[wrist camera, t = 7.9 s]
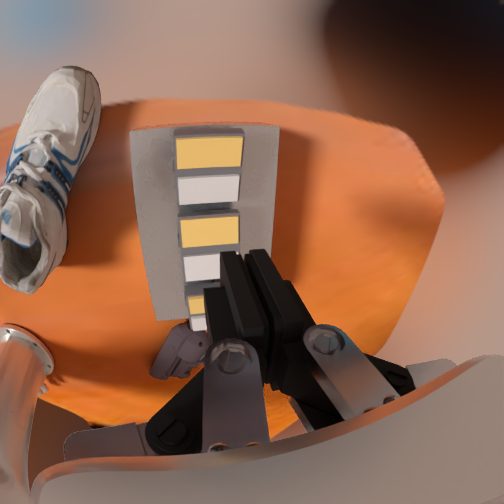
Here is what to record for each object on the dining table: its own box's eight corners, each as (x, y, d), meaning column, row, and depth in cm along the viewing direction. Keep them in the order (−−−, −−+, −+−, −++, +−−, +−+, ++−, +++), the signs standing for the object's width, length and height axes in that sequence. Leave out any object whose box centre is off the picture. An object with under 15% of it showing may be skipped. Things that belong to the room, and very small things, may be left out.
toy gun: (277, 310, 40) (181, 292, 32) (289, 338, 36) (185, 327, 28) (224, 368, 48) (146, 361, 40) (231, 393, 44) (148, 389, 36)
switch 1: (236, 193, 22) (239, 203, 21) (176, 196, 21) (177, 207, 20) (241, 128, 18) (246, 135, 17) (173, 130, 17) (173, 137, 16)
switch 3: (235, 315, 28) (238, 326, 27) (189, 320, 27) (191, 332, 26) (238, 279, 24) (241, 292, 23) (184, 285, 23) (185, 298, 22)
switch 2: (237, 270, 24) (241, 278, 23) (183, 275, 23) (184, 283, 22) (237, 208, 22) (240, 213, 21) (177, 212, 21) (177, 218, 20)
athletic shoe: (119, 71, 19) (41, 53, 9) (92, 271, 29) (41, 336, 18) (49, 71, 18) (-28, 69, 7) (35, 250, 28) (-19, 299, 17)
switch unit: (254, 278, 35) (270, 314, 29) (158, 287, 32) (156, 327, 26) (262, 122, 26) (286, 127, 20) (140, 127, 23) (127, 132, 17)
